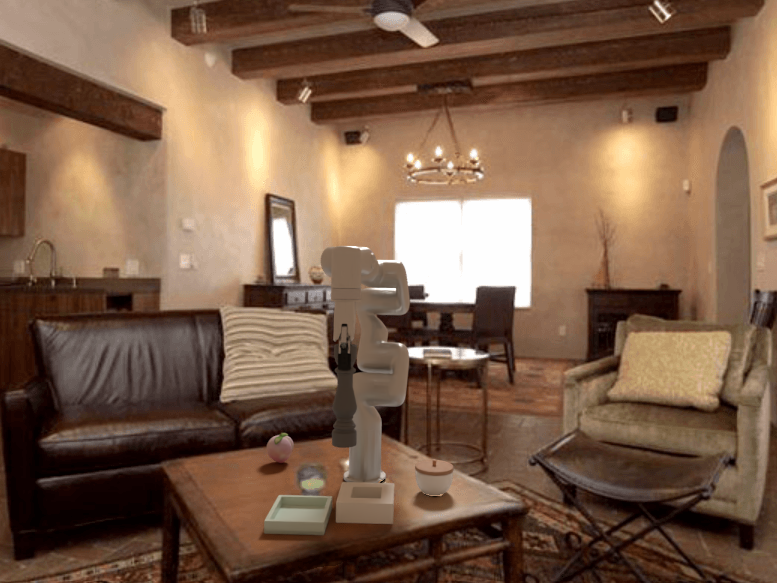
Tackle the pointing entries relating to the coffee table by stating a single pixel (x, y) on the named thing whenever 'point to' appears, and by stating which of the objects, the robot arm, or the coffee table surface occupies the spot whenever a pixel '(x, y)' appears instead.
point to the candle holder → (345, 404)
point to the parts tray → (299, 515)
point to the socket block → (365, 503)
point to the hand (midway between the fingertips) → (345, 367)
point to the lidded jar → (434, 476)
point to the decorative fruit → (280, 447)
